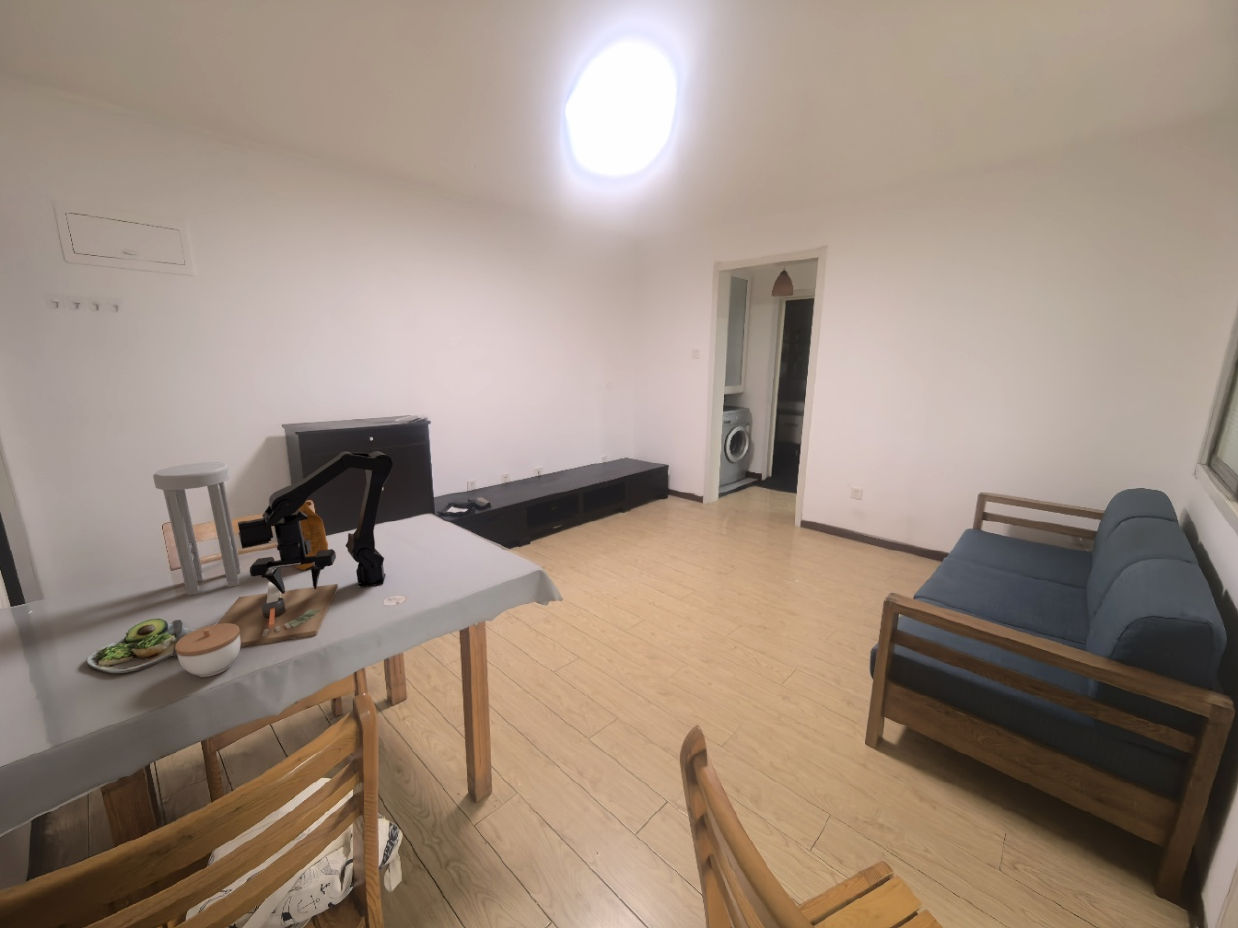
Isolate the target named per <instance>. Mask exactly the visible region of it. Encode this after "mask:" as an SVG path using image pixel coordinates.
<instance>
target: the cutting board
mask: <svg viewBox="0 0 1238 928" xmlns="http://www.w3.org/2000/svg"><path fill="white" fill-rule="evenodd" d="M338 588H339V585H338V583H335V584H333V583H332V584H327V585H317V588H316V589H314V587H313V586H311V587H302V588H296V589H289V590H285V593H284V594H282V593H281V598H283V599H284V604H285V612H284V613H283V614H281V615H279V616H276V617H275V620H274V627H270V628H269V619H270V618H265V617H263V613H262V608H261V604H262V603H263V602H264V601H266V600H267V594H268V592H266V593H259V594H251V595H244V596H238V598H236V600H235V601H234V602H233V604H232V605H231V606H230V607H229V609H228V610H227V611H226V612H225V614H224V615H223V616H222V617H221V618H220V620H219V621H218V622H216V624H222V623H231V624H235V625H237V626H238V627H239V629H240V638H241V647H240V648H244V647H250V646H258V645H263V644H269V643H275V642H282V641H287V640H295V639H300V638H305V637H312V636H317V635H318V633H319V630H320V629H321V626H322V624H323V622H324V619H326V618H325V617H326V615H327V613H328V610H329V608H330V606H331V604H332V602H333V600H334V597H335V596H336V593H337V591H338Z"/></svg>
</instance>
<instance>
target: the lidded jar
mask: <svg viewBox="0 0 1238 928" xmlns="http://www.w3.org/2000/svg"><path fill="white" fill-rule="evenodd" d="M241 648H242V647H241V638H240V629H239V627H238V626H237V625H235V624H231V623H222V624H217V623H216V624H211V625H207V626H204V627H201V628H199V629H195V630H193V632H191V633H189V634H187V635H186V636H184V637H183V638H181V639H180V640H179V641H178V642H177V643H176V645H175V651H176V653H177V655H176V656H177V659H178V661H179V663H180V665H181V666H182V668H183V669H184V670H185V671H186V672H188V673H189V674H191V675H195V676H197V677H199V678H208V677H212V676H216V675H219V674H221V673H223V672H225V671H227V670H228V669H229V668H230V667H231V666H232V665H233V663H234V662H235V661H236V659H237V658H238V656H239V654H240V651H241Z"/></svg>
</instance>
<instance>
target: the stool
mask: <svg viewBox="0 0 1238 928" xmlns="http://www.w3.org/2000/svg"><path fill="white" fill-rule="evenodd" d="M152 477H153V482H154V486H155V488H156V489H157V490H162V492H163V495H164V500H165V503H166V508H167V512H168V517H169V522H170V526H171V530H172V534H173V539H174V543H175V547H176V553H177V556H178V560H179V565H180V569H181V570H180V571H181V573H182V579H183V582H184V587H185V592H186V595H188V596H193V595H197V594H199V592H200V587H199V584H198V582H202V581H204V579H205V577H204V576H205V575H204V572H203V571H204V570H203V566H202V563H201V557H200V554H199V549H198V544H197V540H196V535H195V530H194V526H193V521H192V517H191V512H190V507H189V502H188V497H187V495H186V494H187V493H186V490H190V489H198V488H204V487H207V492H208V497H209V501H210V506H211V511H212V516H213V521H214V525H215V530H216V535H217V540H218V544H219V550H220V554H221V555H220V556H221V560H222V565H223V568H224V573H225V574H224V575H225V578H226V580H225V581H226V584H227V588H230V587H234V586H235V587H236V586H238V585H239V577H238V575H239V574H241V572H242V567H241V562H240V557H239V552H238V547H237V543H236V542H237V541H236V537H235V531H234V527H233V522H232V517H231V512H230V507H229V506H230V505H229V501H228V496H227V492H226V491H227V490H226V487H225V482H226V481H228V480H229V479H230V477H231V475H230V470H229V465H228V464H227V463H222V462H198V463H186V464H180V465H175V466H174V465H173V466H170V467H169V466H168V467H165V468H162V469H159V470H157V471H156V472H155V473H154V474H153V476H152Z"/></svg>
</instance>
